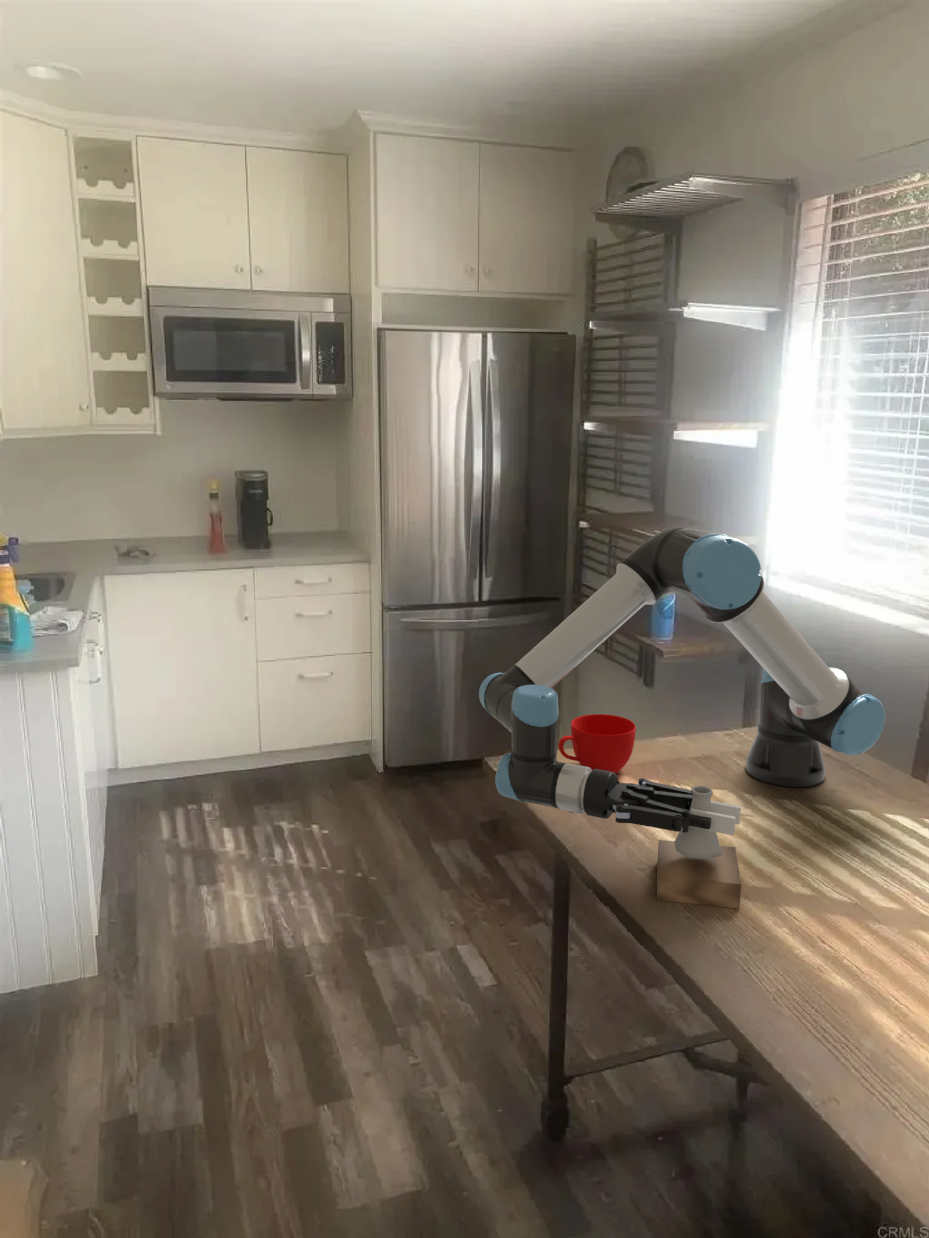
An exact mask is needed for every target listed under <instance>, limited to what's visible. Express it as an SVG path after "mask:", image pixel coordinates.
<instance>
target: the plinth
mask: <svg viewBox="0 0 929 1238" xmlns="http://www.w3.org/2000/svg"><path fill="white" fill-rule="evenodd" d="M657 843H658V846H657V861H656V863H657V864H656V865H657V866H656V868H657V871H656V875H657V876H656V878H657V879H656V883H657V884H656V901H666V902H675V903H682V904H692V905H693V904H694V905H702V906H710V907H717V908H720V907H721V908H730V909H737V910H739V909H740V906H741V894H742V893H741V892H742V880H741V875H740V867H739V862H738V861H739V860H738V856H737V849H736V846H730V845H729V846H726V845H720V848H721V852H722V855H721V856H718V857H714V858H711V859H696V858H688V857H686V856H685V855H683V854H681V853H680V852H678V851H677V850H676V848H675V840H667V839H666V840H665V839H658V842H657Z"/></svg>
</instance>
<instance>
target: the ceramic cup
mask: <svg viewBox="0 0 929 1238" xmlns="http://www.w3.org/2000/svg"><path fill="white" fill-rule="evenodd" d="M636 728H637V727H636V723H634V721H632V720H630V719H628V718H626V717H623V716H619V715H613V714H604V713H603V714H602V713H599V714H597V713H594V714H592V713H591V714H585V715H581V716H578V717H575V718H574V719H573V720H571V723H570V733H571V735H563V736H562V737H561V738H560V740H559V742H558V744H557V746H558V747H557V748H558V751H559V753H560V754H561V755H562V756H563V758H565V759H568V760H570V761H574V762H575V761H576V762H579V764H580V766H586V767H590V768H591V769H592V770H594V769H600V770H605V771H611V772H614V773H615V774H616V775H618V773H619V772H620V771H621V770H622V769H623V768H624V767H625V766H626V764H627V763H628V762H629V760H630V758H631V756H632V753H633V750H634V746H635V741H636V740H635V739H636V730H637V729H636ZM569 740H570V741H571V744H572V748H573V753H574V755H575V756H573V755H569V754H567V753H566V752H565V749H564V746H565V745H564V744H565V742H566V741H569Z"/></svg>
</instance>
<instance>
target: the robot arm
mask: <svg viewBox="0 0 929 1238" xmlns="http://www.w3.org/2000/svg"><path fill="white" fill-rule="evenodd" d="M761 569H762V568H761V562H760V560H759V557H758V555H757V554H756V553H755V551H754V549H752V547H751V546H750V545H748V544H747V543H746V542H744V541H742V540H740V539H739V538H736V537H734V536H731V535H727V534H725V533H715V532H714V533H713V532H709V531H705V530H700V529H696V528H693V527H688V526H677V527H672V528H667V529H665V530H663V531H661V532H659V533H657V534H655V535H653V536H651V537H650V538H649V539H647V540H646V541H644V542H642V544H640V545H639V546H637V547H636V548H635V549H633V551H631V552H630V553H629V554H628V555H627V556H626V557H625V558H623V559H622V560H621V561H620V562H619V563H618V564H617V565H616V573H615V574H614V575H613V576H611V578H610V579H608V580H607V581H606V583H604V584H602V586H601V587H600V588H599V589H598V590H596V591H595V592H594V593H593V594H592V595H591V596H589V598H587V600H585V601H584V602H583V603H582V604H581V605H579V607H577V608H576V609H575V610H574V611H573V612H572V613H571V614H570V615H568V616H567V617H566V618H565V619H564V620H563V621H562V622H561V623H559V624H558V626H556V627H555V628H553V630H552V631H551V632H550V633H549V634H548V635H546V636H545V637H544V638H543V639H541V641H540V642H539V643H537V644H536V645H535V646H534V647H533V648H531V650H530V651H529V652H528V653H526V654H525V655H524V656H523V657H522V658H521V659H520V660H518V662H516V663H514V665H513V666H512V667H510V668H509V669H508V670H507V671H506V672H504V673H503V672H495V673H492V674H489V675H488V676H487V677H486V678H485V679H484V680H482V682H481V684H480V685H479V686H480V687H479V690H478V698H479V701H480V704H481V705H482V707H483V708H484V709H485V710H486V713H487V715H488V714H489V716H490V717H493V718H494V719H496V720H497V721H498V722H499V723H500V724H501V725H502V726H503V727H504V728H506V730H507V731H509V732H510V733H511V749H510V751H511V752H507V753H505V754H502V757H500V759H499V761H498V763H497V766H496V773H495V781H494V782H495V786H496V790H497V792H498V794H500V795H501V796H502V797H505V798H509V799H513V800H515V801H518V802H520V803H530V804H533V805H540V806H544V807H545V806H546V807H550V808H555V809H558V810H564V811H566V812H567V811H568V813H569V814H573V813H578V814H584V813H585V814H586V815H587V816H590V817H595V818H599V819H604V820H605V819H608V818H610V817H611V816H612V815H613V814H615V820H614V821H615V822H616V823H617V824H633V825H636V826H637V825H639V826H644V827H649V828H654V829H659V830H661V829H662V830H664V831H665V830H667V831H670V832H678V833H679V832H680V831H681V828H683V830H682V832H685V833H686V832H688V826H690V827H694V828H699V829H704V830H708V831H713V832H716V833H719V834H724V835H728V836H734V835H735V832H736V831H735V830H736V825H737V826H739V825H740V823H741V811H742V806H741V805H740V806H739V805H736V804H730V803H726V802H719V801H715V800H710V807H711V812H709V811H704V810H699V809H694V808H692V809H691V813H690V814H689V811H690V807H691V803H692V799H693V794H692V790H691V789H687V788H682V787H679V786H674V785H669V784H663V783H661V782H655V781H652V780H650V779H647V778H643V777H640V778H638V783H631V782H628V783H626V782H620V781H619V780H618V774H615V773H614V772H611V771H605V770H600V769H594V770H592V769H591V768H590V767H586V766H582V765H581V764H580V765H579V764H574V763H569V762H561V761H558V760H557V753H558V749H557V748H558V747H557V746H558V728H559V717H560V709H559V708H560V707H559V696H558V693H557V691H555V689H554V687H555V686H556V685H557V684H558V683H559V682H560V681H562V679H564V678H565V677H566V676H567V675H568V674H569V673H571V671H572V670H574V668H576V667H577V666H578V665H579V664H580V663H582V662H583V660H584V659H586V658H587V657H588V656H589V655H590V654H591V653H593V652H594V651H595V650H596V649H597V648H598V647H600V646H601V645H602V643H603V642H605V641H606V640H607V639H608V638H610V637H611V635H613V634H614V633H615V632H616V631H617V630H618V629H620V628H621V627H622V625H624V624H625V623H626V622H627V621H628V620H629V619H631V618H632V617H633V616H634V615H635V614H636V613H637V612H638V611H639V610H641V608H643V607H644V606H645V605H647V606H648V605H651V606H653V605H654V604H656V603H657V602H658V601H659V600H660V599H661V598H662V597H664V596H666V595H668V594H672V593H674V594H678V595H679V596H682V597H685V598H687V599H688V600H689V601H690V602H691V603H692V604H693V605H694V606H695V608H697V609H698V610H699V611H700V613H701V614H702V615H703V617H705V618H706V619H707V620H708V621H709V622H710V623H714V624H723V625H724V626H725V628H727V629H728V630H729V631H730V633H731V634H732V635H733V636H734V637H735V638H736V639H737V640H738V641H739V642H740V643H741V645H742V646H743V647H744V648H745V649H746V650H747V651H748V653H749V654H750V655H751V656H752V657H753V658H754V659H755V660H756V661H757V662H758V664H759V665H760V666H761V667H762V668H763V670H762V675H761V681H760V693H759V694H760V695H759V709H758V710H759V711H758V724H757V725H758V726H757V734H756V736H755V738H754V740H753V743H752V744H751V747H750V750H749V751H748V754H747V757H746V762H745V764H746V765H745V770H746V772H747V773H748V774H749V775H750V776H752V777H753V778H754V779H757V780H760V781H761V782H765V783H768V784H772V785H776V786H782V787H788V788H790V787H791V788H805V787H812V786H816V785H819V784H821V783H822V782H824V780H825V774H826V765H825V761H824V758H823V753H822V749H821V745H820V744H822V745H824V746H826V747H828V748H830V749H832V750H833V751H834V752H837V753H841V754H843V755H846V756H856V755H861V754H864V753H865V752H867V751H868V750H869V749H870V748H872V747H873V746H874V745H875V744H876V742H877V741H878V740H879V738H880V737H881V735H882V733H883V730H884V727H885V723H886V711H885V707H884V705H883V703H882V702H881V701H880V699H878V698H876V697H875V695H873V694H870V693H865V692H863V691H862V690H860V689H859V688H858V687H857V686H856V684H854V682H853V681H852V680H851V679H850V677H848V675H847V674H846V673H845V672H844V671H843V670H841V669H839V668H837V667H828V665H827V664H826V663H825V662H824V661H823V659H822V658H821V657H820V656H819V654H817V652H816V651H815V650H814V649H813V648H812V646H810V644H809V643H808V642H807V641H806V640H805V638H804V637H803V635H801V634H800V632H799V631H798V630H797V629H796V628H795V627H794V625H792V623H791V622H790V621H789V620H788V619H787V617H786V616H785V615H784V614H783V613H782V611H781V610H780V609H779V608H778V606H776V604H774V602H773V601H772V600H771V599H770V597H769V596H768V595H767V594H766V593H765V592H764V589H765V579H764V577H763V576H762V574H761V573H760V572H761Z"/></svg>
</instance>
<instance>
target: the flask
mask: <svg viewBox="0 0 929 1238" xmlns="http://www.w3.org/2000/svg"><path fill="white" fill-rule="evenodd" d="M690 790H692V794H693V799H692V803H691V807H690V811H689V814H690V813H691V809H692V808H694V809H699V810H704V811H709V812H711V807H710V801H711V797H712V796H713V795H714V792H713V789H712V788H711V787H709V786H706V785H693V786H691V788H690ZM682 830H683V828H681V831H680V832H678V834H677V836H676V837H675V840H674V841H675V848H676V850H677V851H678V852H680V853H681V854H683V855H685V856H686V857H688V858H696V859H711V858H714V857H718V856H721V855H722V852H721V848H720V846H721V845H720V841H719V838H718V834H717V832H713V831H708V830H704V829H699V828H694V827H690V826H688V832H686V833H685V832H682Z"/></svg>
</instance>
